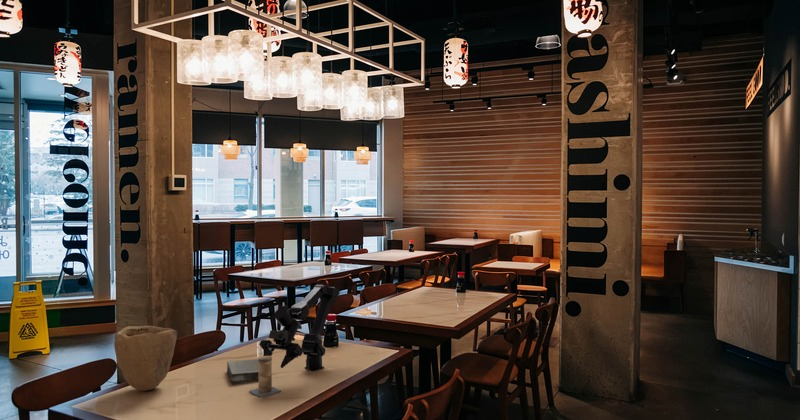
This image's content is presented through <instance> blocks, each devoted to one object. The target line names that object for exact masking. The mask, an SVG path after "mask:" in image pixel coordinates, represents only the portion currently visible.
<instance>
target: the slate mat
mask: <svg viewBox="0 0 800 420" xmlns="http://www.w3.org/2000/svg"><path fill="white" fill-rule="evenodd" d="M248 393H249V394H251V395H254V396H256V397H258V398H260V399H262V398H265V397H268V396H272V395H275V394H279V393H282V390H281V389H279V388H277V387H273V386H272V391H270V392H266V393H261V392H259V387H258V388H255V389H251V390H248Z"/></svg>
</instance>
